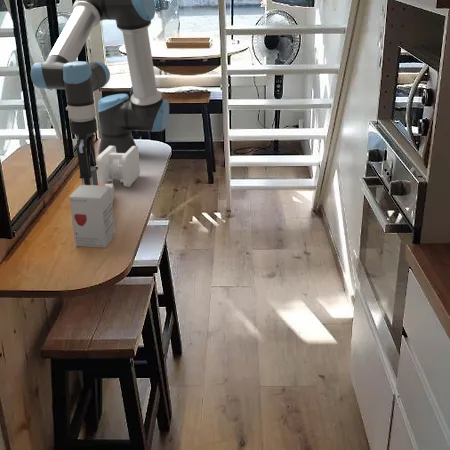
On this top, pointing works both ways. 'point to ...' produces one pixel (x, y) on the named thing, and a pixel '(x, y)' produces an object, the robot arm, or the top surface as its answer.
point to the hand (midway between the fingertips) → (91, 194)
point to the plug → (93, 175)
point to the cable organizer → (118, 166)
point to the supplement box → (92, 215)
